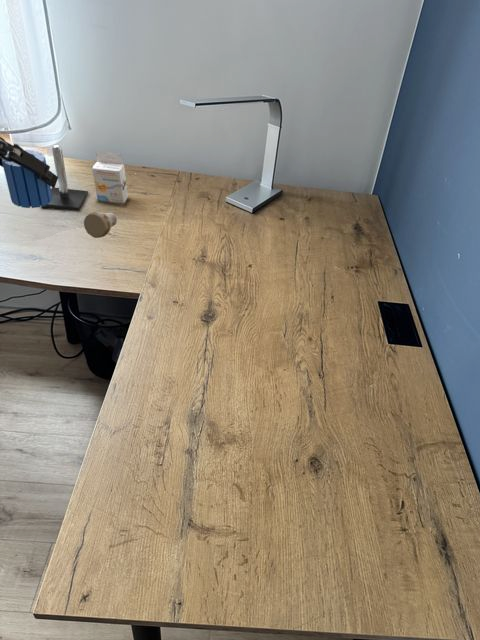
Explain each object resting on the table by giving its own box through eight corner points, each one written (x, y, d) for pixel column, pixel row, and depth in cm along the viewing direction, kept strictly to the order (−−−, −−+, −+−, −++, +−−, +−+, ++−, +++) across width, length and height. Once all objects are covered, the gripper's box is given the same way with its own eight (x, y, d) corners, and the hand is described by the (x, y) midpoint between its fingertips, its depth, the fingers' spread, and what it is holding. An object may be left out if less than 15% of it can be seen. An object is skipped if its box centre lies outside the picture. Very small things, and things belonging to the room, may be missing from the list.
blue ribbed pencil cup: (5, 205, 117) (-5, 163, 110) (19, 188, 123) (10, 147, 117) (45, 210, 118) (37, 168, 111) (56, 192, 124) (50, 152, 117)
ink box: (97, 203, 157) (89, 157, 146) (102, 196, 160) (94, 150, 150) (124, 206, 157) (117, 161, 146) (129, 198, 160) (122, 153, 150)
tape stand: (41, 208, 151) (30, 150, 139) (53, 191, 159) (42, 136, 147) (78, 212, 152) (70, 155, 140) (88, 195, 160) (81, 140, 148)
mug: (125, 224, 149) (118, 207, 139) (106, 250, 146) (98, 234, 137) (103, 212, 149) (95, 194, 140) (84, 238, 147) (75, 221, 137)
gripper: (-85, 132, 100) (-7, 179, 122) (8, 160, 96) (71, 203, 118) (-72, 97, 100) (4, 150, 122) (21, 123, 96) (82, 173, 118)
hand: (37, 176), depth 120 cm, fingers closed on blue ribbed pencil cup, 9 cm apart
